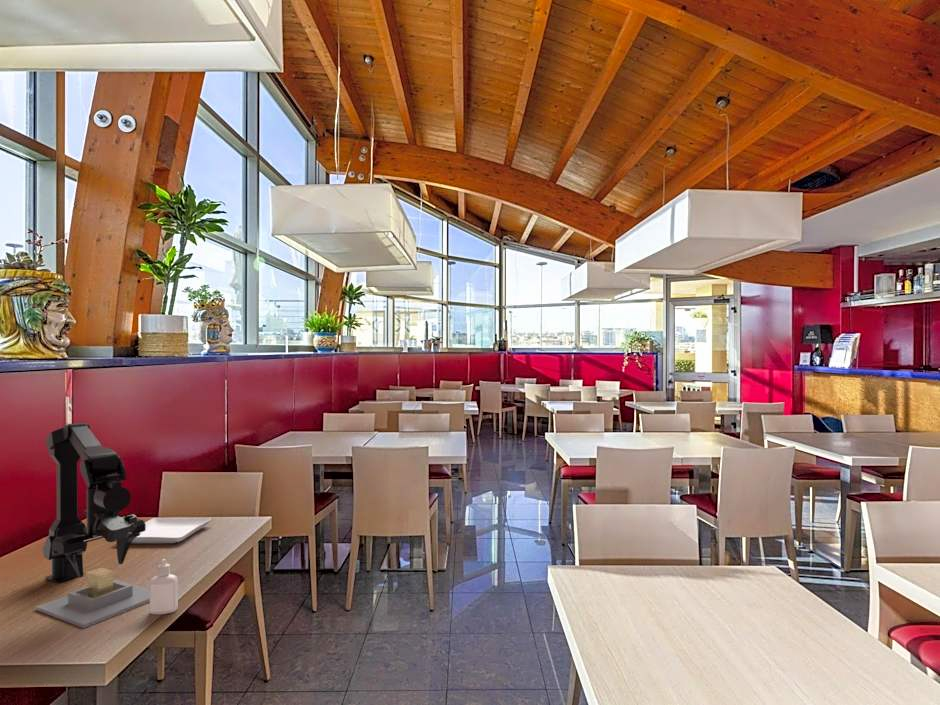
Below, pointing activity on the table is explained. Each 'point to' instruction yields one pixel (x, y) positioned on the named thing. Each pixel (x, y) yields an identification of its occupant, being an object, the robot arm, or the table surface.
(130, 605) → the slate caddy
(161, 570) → the eye dropper bottle
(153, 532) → the salad plate
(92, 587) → the wooden lipped block
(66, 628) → the table surface
